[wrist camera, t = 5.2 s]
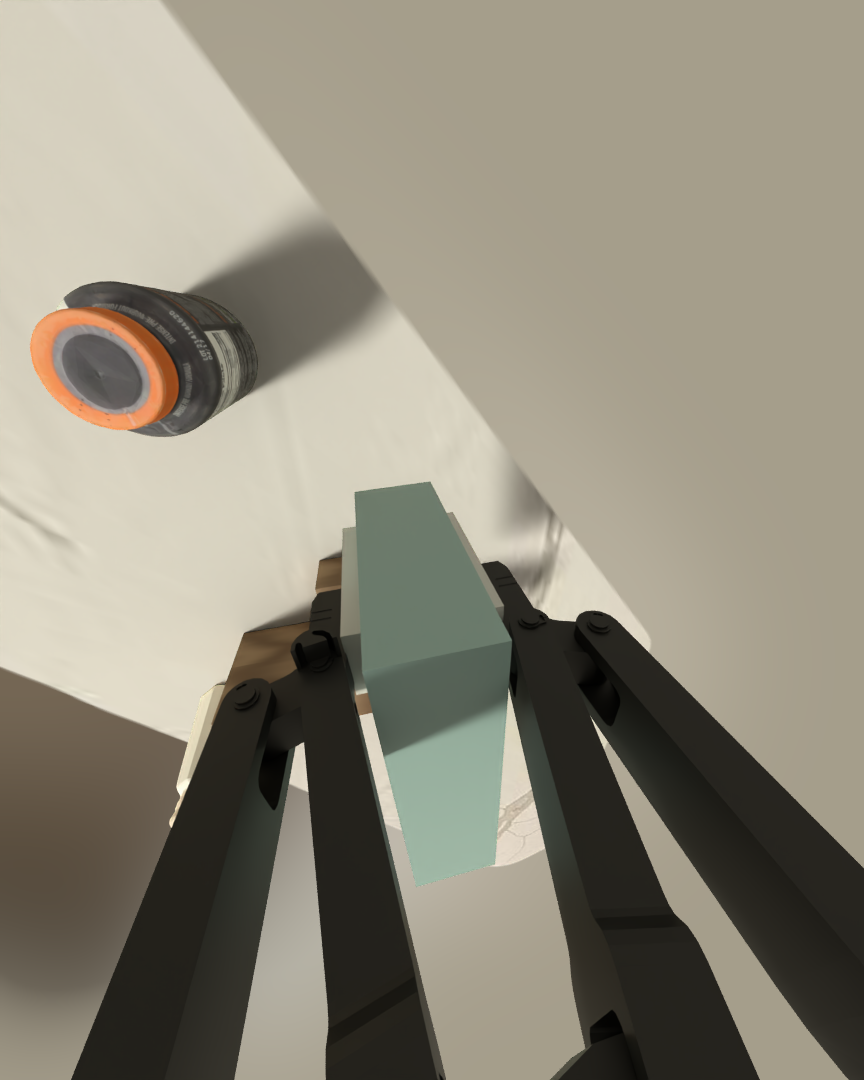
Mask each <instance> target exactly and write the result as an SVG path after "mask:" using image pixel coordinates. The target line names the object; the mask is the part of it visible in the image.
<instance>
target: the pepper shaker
mask: <svg viewBox="0 0 864 1080" xmlns="http://www.w3.org/2000/svg"><path fill="white" fill-rule="evenodd" d="M224 687H225V685H215V686H214V687H213V688H212V689H210V690H209V691H208V692H207V693H206V694H204V695H203V696H202V697H201V699H200V702H199V706H198V709H197V713H196V717H195V720H194V724H193V727H192V731H191V735H190V738H189V742H188V745H187V749H186V753H185V756H184V760H183V763H182V767H181V770H180V774H179V778H178V782H177V790H178V792H179V794H180V800H179V802H178V804H177V807H176V809H175V813H174V814H173V816H172V817H171V819H170V826H171V828H172V825H173V823H174V820H175V818H176V815H177V813H178V810H179V808H180V805H181V803H182V800H183V798H184V795H185V793H186V790H187V788H188V785H189V783H190V780H191V778H192V775H193V773H194V770H195V768H196V765H197V763H198V760H199V758H200V755H201V753H202V750H203V748H204V745H205V743H206V740H207V738H208V735H209V733H210V730H211V728H212V725H211V723H212V720H213V717H214V715H215V712H216V709H217V706H218V704H219V701H220V698H221V695H222V693H223V690H224Z"/></svg>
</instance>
